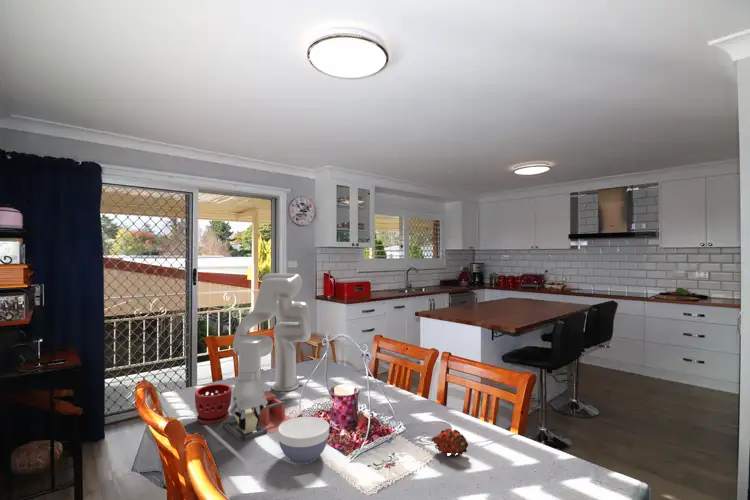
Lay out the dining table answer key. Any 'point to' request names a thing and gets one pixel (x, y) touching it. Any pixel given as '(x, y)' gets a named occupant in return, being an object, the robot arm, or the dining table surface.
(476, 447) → the dining table surface
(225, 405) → the plant pot
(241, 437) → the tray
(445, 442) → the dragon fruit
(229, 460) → the dining table surface
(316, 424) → the bowl
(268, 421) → the dispenser
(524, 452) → the dining table surface
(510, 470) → the dining table surface
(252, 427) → the cream chunky block
